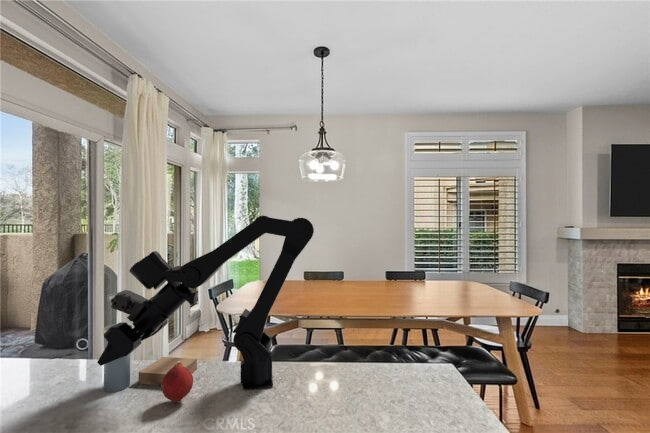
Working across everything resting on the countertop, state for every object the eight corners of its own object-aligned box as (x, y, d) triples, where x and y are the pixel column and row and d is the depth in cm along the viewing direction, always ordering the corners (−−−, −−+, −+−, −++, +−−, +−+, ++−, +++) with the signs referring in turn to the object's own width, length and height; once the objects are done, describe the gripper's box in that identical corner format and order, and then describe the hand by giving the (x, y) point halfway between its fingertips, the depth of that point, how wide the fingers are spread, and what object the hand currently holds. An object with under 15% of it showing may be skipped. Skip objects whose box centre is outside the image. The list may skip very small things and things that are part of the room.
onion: (181, 411, 66) (181, 369, 66) (154, 408, 67) (155, 366, 68) (198, 396, 72) (198, 357, 72) (173, 393, 73) (173, 355, 73)
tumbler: (134, 379, 79) (135, 322, 80) (126, 391, 74) (127, 329, 74) (107, 382, 78) (108, 324, 78) (98, 393, 73) (99, 331, 73)
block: (196, 369, 85) (196, 359, 85) (175, 386, 76) (175, 374, 76) (162, 366, 87) (163, 356, 87) (138, 383, 78) (138, 372, 78)
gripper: (155, 272, 86) (108, 317, 85) (115, 286, 68) (54, 344, 67) (187, 304, 87) (141, 349, 86) (156, 326, 68) (96, 385, 67)
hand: (111, 355), depth 76 cm, fingers open, 9 cm apart
